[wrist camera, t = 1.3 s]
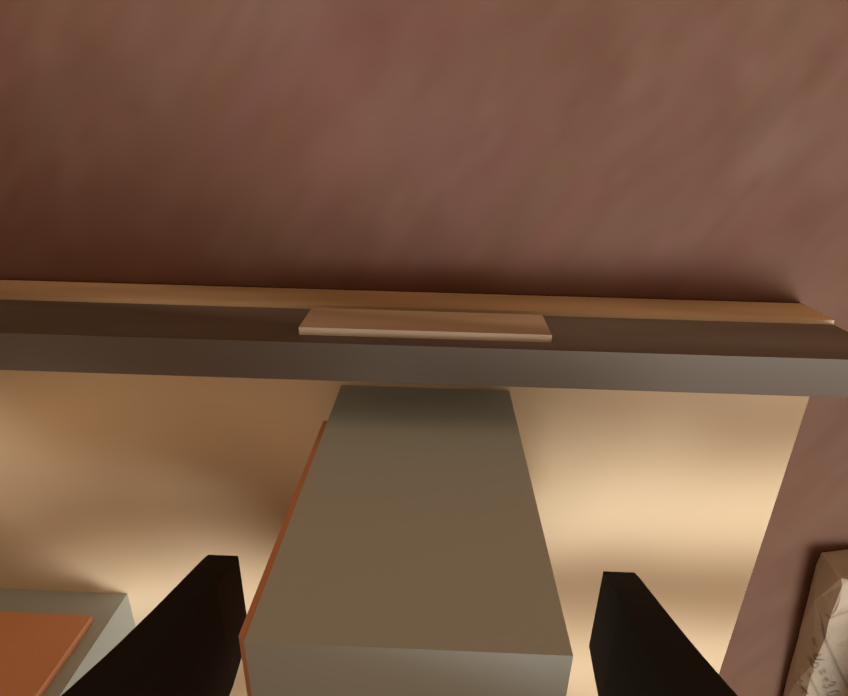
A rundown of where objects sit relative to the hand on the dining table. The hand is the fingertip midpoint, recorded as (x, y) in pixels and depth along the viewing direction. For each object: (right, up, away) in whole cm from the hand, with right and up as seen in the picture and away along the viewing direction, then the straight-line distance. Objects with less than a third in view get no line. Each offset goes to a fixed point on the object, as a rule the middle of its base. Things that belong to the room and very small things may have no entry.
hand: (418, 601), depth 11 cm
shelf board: (-3, 0, +5) cm, 6 cm away
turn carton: (0, +1, +3) cm, 4 cm away
